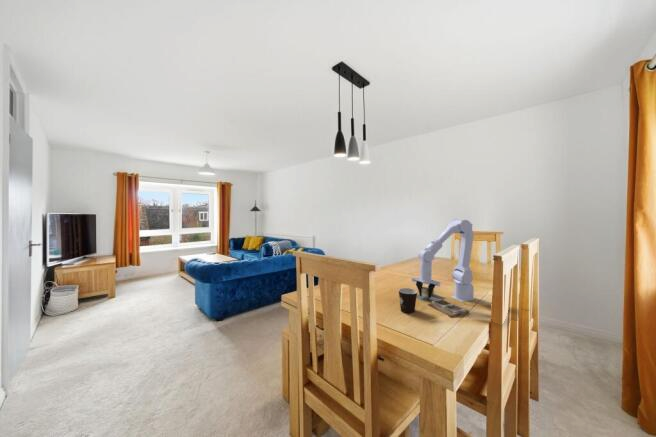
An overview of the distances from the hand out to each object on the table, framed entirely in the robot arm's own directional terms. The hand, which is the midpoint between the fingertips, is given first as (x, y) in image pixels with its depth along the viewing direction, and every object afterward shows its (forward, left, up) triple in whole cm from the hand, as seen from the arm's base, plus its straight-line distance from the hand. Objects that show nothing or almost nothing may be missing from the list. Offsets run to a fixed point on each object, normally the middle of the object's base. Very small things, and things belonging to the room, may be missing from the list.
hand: (425, 296), depth 133 cm
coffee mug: (+18, +7, -2) cm, 19 cm away
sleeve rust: (-7, -4, -1) cm, 8 cm away
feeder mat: (-4, -2, -2) cm, 5 cm away
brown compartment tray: (-1, +14, -2) cm, 14 cm away
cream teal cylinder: (0, 0, -1) cm, 1 cm away
